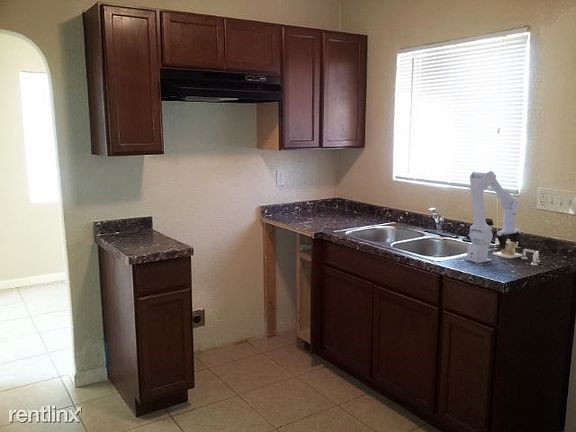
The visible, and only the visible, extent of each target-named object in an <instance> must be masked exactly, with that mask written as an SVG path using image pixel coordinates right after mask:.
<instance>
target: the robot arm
mask: <svg viewBox="0 0 576 432" xmlns="http://www.w3.org/2000/svg"><path fill="white" fill-rule="evenodd" d="M469 182H470V188H469V190H470V199H471V208H472V209H471V210H472V218H473V224H472V225H470V226H469V233H468V234H469V235H468V236H469V238H470V241H471V243H470V244H468V246H467V249H466V250H467V251H466V253H467V254H466V258H465V260H467V261H470V262H474V263H477V264H479V263H486V262H491V261H492V259H490V258H488V256H489V255H488V253H489V247H488V243H490V241H491V242H492V240H493V231H492V232H491V229H490V227H489V226H488V225H487V223H486V219H487V218H486V209H485V201H484V191H485V190H487V189H488V188H489V187H490V188H491V189H492V190H493V191H494V192H495V196H496V198H497V200H499V201H500V205H501V208H503V220H502V229H501V230H499V231H497V232H496V238H497V240H498V243H499V246H500V249H505V246H506V241H508V238H509V240H510V242H515V247H516V246H517V242H518V240H519V238H521V236H522V235H521V228H516V221H517V219H516V218H517V217H516V216H517V213H518V209H519V207H520V201H519V200H518V199H517V198H514V197H513V195H512V194H510V193H511V192H509V190H508V188H503V187H502V185H500V183H499V182H498V180H497V175H496V174H495V173H494V171H492V170H479V169H474V170H473V171H472V172H471V174H470V176H469ZM507 235H509V236H507ZM490 244H491V243H490Z"/></svg>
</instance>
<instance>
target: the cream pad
mask: <svg viewBox="0 0 576 432" xmlns="http://www.w3.org/2000/svg"><path fill="white" fill-rule="evenodd" d="M492 255H493V256H497V257H501V258H506V259H514V258H521V257H523V253H517V252H515V254H513V255H506V254H501V251H496V252H492Z"/></svg>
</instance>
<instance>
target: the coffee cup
mask: <svg viewBox="0 0 576 432" xmlns="http://www.w3.org/2000/svg"><path fill="white" fill-rule="evenodd" d="M485 219H486V223H487V225H488V226H489V227H490V229H491V232H492V233H493V228H494V221H493V218H485ZM491 242H492V240H491V241H490V243H488V248H490V247H491Z"/></svg>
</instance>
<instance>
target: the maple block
mask: <svg viewBox="0 0 576 432" xmlns="http://www.w3.org/2000/svg"><path fill="white" fill-rule="evenodd" d="M500 249H501V248H500ZM500 252H501V254H506V255H513V254H515V253H516V246H515V242H510V241H509V240H507V241H506V246H505V249H501V250H500Z"/></svg>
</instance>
